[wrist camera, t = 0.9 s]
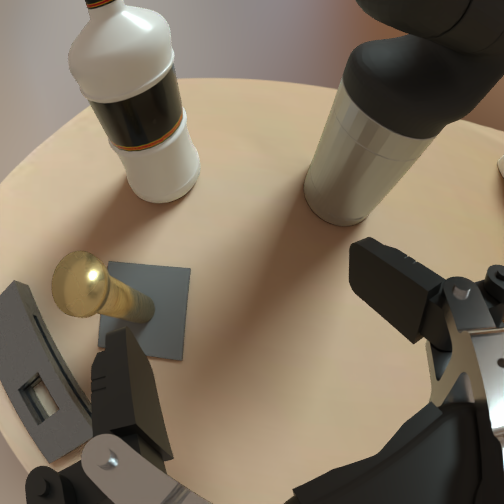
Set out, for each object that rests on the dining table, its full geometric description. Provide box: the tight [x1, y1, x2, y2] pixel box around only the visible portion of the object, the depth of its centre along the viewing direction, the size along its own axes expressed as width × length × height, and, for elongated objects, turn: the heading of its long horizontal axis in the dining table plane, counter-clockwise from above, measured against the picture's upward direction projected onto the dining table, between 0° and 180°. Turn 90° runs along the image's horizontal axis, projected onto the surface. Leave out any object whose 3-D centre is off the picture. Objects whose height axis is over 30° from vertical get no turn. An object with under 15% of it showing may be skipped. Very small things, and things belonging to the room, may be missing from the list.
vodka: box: [68, 0, 200, 203], centre depth 21 cm, size 9×9×30 cm
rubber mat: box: [98, 261, 191, 361], centre depth 30 cm, size 10×10×1 cm
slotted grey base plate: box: [0, 280, 93, 464], centre depth 26 cm, size 21×10×3 cm, turn 39°
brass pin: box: [52, 251, 155, 324], centre depth 23 cm, size 4×4×14 cm
